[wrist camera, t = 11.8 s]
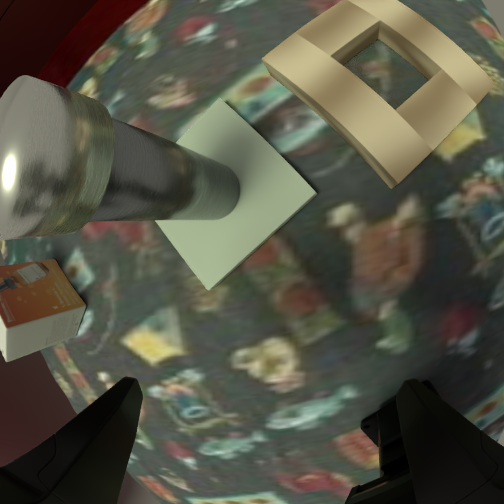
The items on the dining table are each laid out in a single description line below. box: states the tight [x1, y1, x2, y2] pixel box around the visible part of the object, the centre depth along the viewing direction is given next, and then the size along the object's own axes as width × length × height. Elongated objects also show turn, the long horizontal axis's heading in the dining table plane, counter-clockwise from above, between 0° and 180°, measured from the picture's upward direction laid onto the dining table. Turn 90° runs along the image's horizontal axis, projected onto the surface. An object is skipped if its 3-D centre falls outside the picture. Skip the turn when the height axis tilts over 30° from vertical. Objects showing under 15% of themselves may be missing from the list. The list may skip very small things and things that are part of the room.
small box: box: [0, 259, 86, 362], centre depth 22 cm, size 8×6×10 cm
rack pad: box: [155, 98, 317, 291], centre depth 20 cm, size 10×10×1 cm
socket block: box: [262, 0, 495, 189], centre depth 14 cm, size 12×12×2 cm
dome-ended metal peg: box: [0, 75, 240, 240], centre depth 12 cm, size 5×5×15 cm
